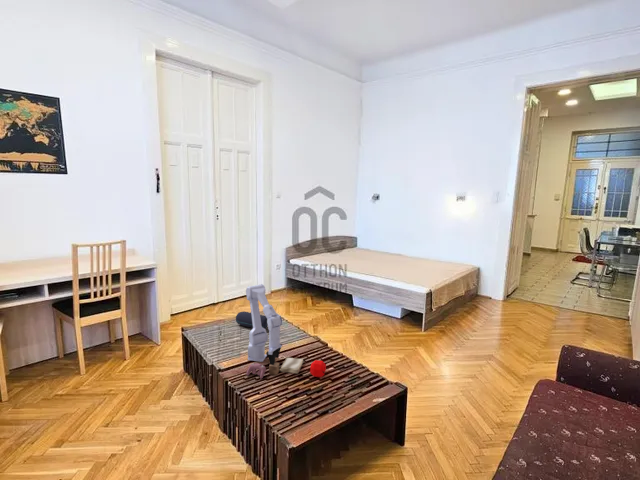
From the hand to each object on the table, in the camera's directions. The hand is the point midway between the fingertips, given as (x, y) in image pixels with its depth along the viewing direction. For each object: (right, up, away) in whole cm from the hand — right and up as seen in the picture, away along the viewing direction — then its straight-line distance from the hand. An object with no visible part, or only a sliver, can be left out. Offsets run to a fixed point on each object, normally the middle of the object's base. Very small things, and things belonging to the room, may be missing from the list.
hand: (274, 360), depth 185 cm
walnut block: (0, -7, +1) cm, 7 cm away
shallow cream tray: (+9, -6, +8) cm, 13 cm away
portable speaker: (-24, +3, +60) cm, 65 cm away
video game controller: (-10, -7, -2) cm, 12 cm away
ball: (+24, -8, 0) cm, 25 cm away
